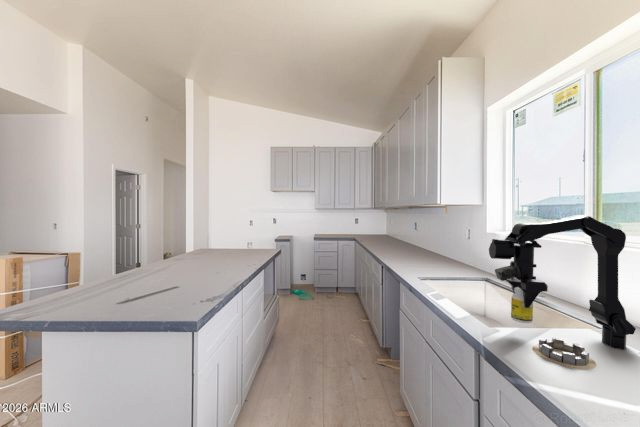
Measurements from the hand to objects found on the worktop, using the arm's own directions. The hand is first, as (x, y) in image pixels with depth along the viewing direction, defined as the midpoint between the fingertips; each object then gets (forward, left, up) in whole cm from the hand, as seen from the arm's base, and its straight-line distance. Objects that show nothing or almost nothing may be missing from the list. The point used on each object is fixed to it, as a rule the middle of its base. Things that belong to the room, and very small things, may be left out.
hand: (522, 304), depth 102 cm
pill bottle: (0, 0, -6) cm, 6 cm away
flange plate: (+10, +9, -12) cm, 18 cm away
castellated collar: (+10, +9, -11) cm, 18 cm away
